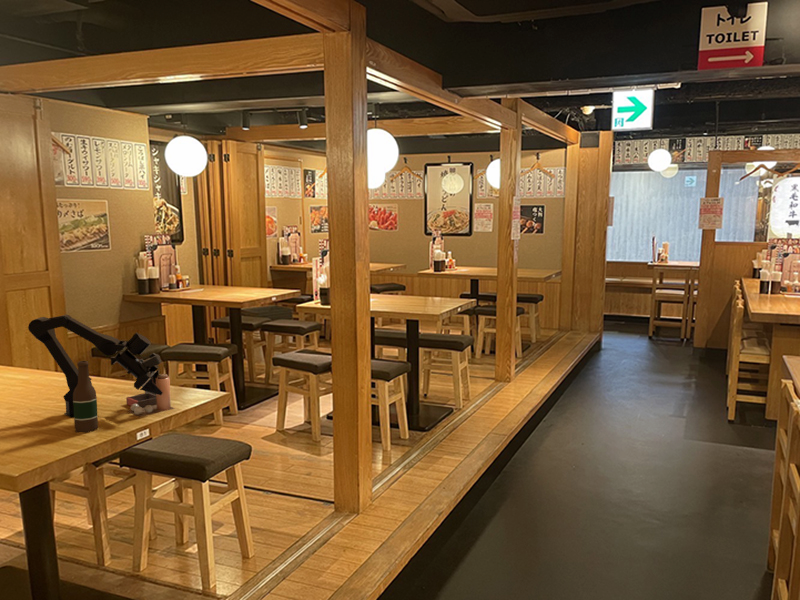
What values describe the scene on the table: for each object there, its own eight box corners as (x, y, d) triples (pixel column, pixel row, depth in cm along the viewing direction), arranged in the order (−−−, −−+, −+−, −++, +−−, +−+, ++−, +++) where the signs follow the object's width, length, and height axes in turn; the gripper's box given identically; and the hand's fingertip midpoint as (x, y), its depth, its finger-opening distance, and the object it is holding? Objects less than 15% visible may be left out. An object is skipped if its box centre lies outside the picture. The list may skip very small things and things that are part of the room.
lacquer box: (138, 410, 239) (137, 401, 238) (126, 406, 245) (126, 397, 244) (160, 405, 246) (160, 396, 245) (149, 401, 252) (148, 392, 251)
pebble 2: (136, 416, 230) (136, 408, 229) (132, 414, 232) (132, 406, 231) (144, 414, 232) (144, 406, 232) (140, 412, 234) (140, 404, 234)
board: (140, 418, 229) (139, 416, 229) (126, 413, 236) (126, 411, 236) (175, 410, 240) (175, 408, 240) (161, 405, 246) (161, 403, 246)
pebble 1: (133, 413, 233) (132, 405, 233) (129, 411, 235) (129, 403, 235) (141, 411, 236) (140, 403, 235) (137, 409, 238) (136, 402, 237)
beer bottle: (92, 424, 223) (89, 358, 220) (103, 429, 218) (99, 361, 215) (69, 429, 217) (66, 361, 214) (80, 434, 212) (76, 365, 209)
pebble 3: (147, 414, 232) (146, 406, 231) (143, 413, 234) (142, 405, 233) (154, 412, 234) (154, 405, 234) (150, 411, 236) (150, 403, 236)
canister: (161, 411, 236) (159, 377, 234) (154, 408, 239) (152, 375, 237) (173, 408, 240) (172, 375, 238) (166, 405, 243) (165, 373, 241)
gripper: (141, 353, 226) (174, 381, 230) (152, 343, 245) (182, 369, 248) (119, 375, 226) (153, 403, 229) (131, 364, 244) (163, 390, 248)
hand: (164, 390), depth 239 cm, fingers open, 9 cm apart
